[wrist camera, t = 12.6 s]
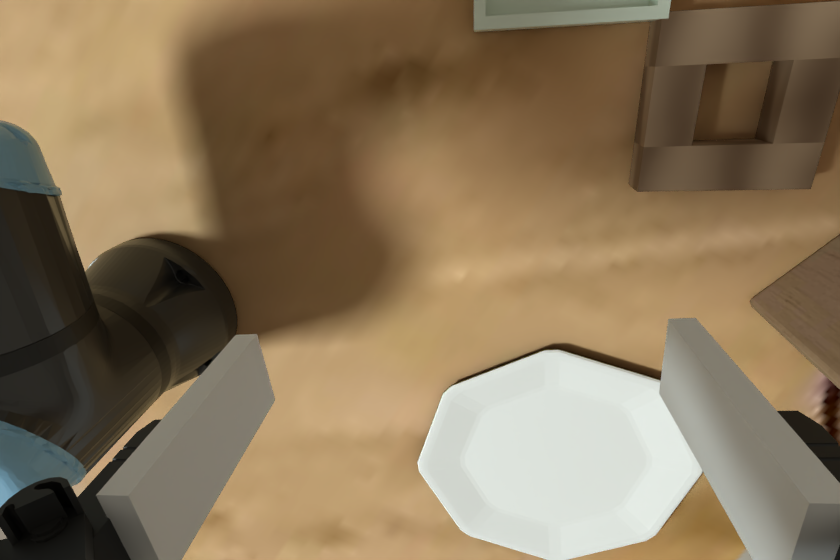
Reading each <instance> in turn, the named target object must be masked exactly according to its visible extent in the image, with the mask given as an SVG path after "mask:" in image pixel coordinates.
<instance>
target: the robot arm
mask: <svg viewBox="0 0 840 560" xmlns="http://www.w3.org/2000/svg"><path fill="white" fill-rule="evenodd" d="M60 195H62V193H61V190H60V188H59V187H57V186H56V185H55V183H54V181H53V179H52V176H51V174H50V172H49V169H48V167H47V165H46V162H45V160H44V157H43V154H42V152H41V149H40V147H39V145H38V143H37V142H36V140H35V139H34V138H33V137H32V136H31V135H30V134H29V133H28V132H27V131H25V130H24V129H22V128H21V127H19V126H17V125H15V124H12V123H9V122H5V121H0V527H1V529H2V531H3V532H4V534H5V535H6V537H7V539H3V540H0V560H182V558H183V556H184V555H185V553H186V551H187V549H188V548H189V546H190V544H191V543H192V541H193V539H194V538H195V536H196V534H197V532H198V531H199V529H200V527H201V526H202V524H203V522H204V520H205V519H206V517H207V515H208V514H209V512H210V510H211V509H212V507H213V505H214V503H215V502H216V500H217V498H218V497H219V495H220V493H221V491H222V490H223V488H224V486H225V485H226V483H227V481H228V480H229V478H230V476H231V474H232V473H233V471H234V469H235V468H236V466H237V464H238V462H239V461H240V459H241V457H242V456H243V454H244V452H245V451H246V449H247V447H248V445H249V444H250V442H251V440H252V439H253V437H254V435H255V433H256V432H257V430H258V428H259V427H260V425H261V423H262V422H263V420H264V418H265V416H266V415H267V413H268V411H269V410H270V408H271V406H272V404H273V403H274V401H275V397H274V394H273V390H272V387H271V383H270V379H269V376H268V372H267V368H266V365H265V361H264V358H263V354H262V350H261V347H260V343H259V339H258V336H257V334H244V335H236V329H237V315H236V309H235V306H234V302H233V299H232V297H231V295H230V292H229V291H228V289H227V287H226V285H225V284H224V282H223V281H222V279H221V278H220V277H219V275H218V274H217V273H216V272H215V271H214V270H213V269H212V268H211V267H210V266H209V265H208V264H207V263H206V262H205V261H204V260H203V259H201V258H200V257H199V256H197V255H196V254H194V253H193V252H191V251H189V250H188V249H186V248H184V247H182V246H180V245H177V244H175V243H172V242H169V241H165V240H160V239H153V238H140V239H133V240H129V241H126V242H124V243H121V244H119V245H117V246H115V247H113V248H111V249H109V250H107V251H106V252H104V253H102V254H101V255H100V256H98V257H97V258H96V259H95V260H94V261H93V262H92V263H91V264H90V266H89V267H88V269H87V270H86V272H85V271H84V268H83V265H82V262H81V259H80V256H79V253H78V251H77V248H76V244H75V241H74V238H73V235H72V232H71V229H70V226H69V223H68V220H67V217H66V214H65V211H64V208H63V204H62V201H61V198H60ZM199 375H200V376H199ZM197 376H199V378H198V379H197V380H196V381H195V382H194V383H193V384H192V386H191V387H190V388H189V389H188V390H187V391H186V392H185V394H184V395H183V396H182V397H181V398H180V399H179V400H178V402H177V403H176V404H175V405H174V406H173V407H172V408H171V410H170V411H169V412H168V413H167V414H166V415H165V417H164V418H163V419H162V420H154V421H152V422H151V423H149V424H148V425H147V426H145V427H144V428H142V429H141V430H139V431H138V432H137V433H136V434H135V435H134V436H133V437H132V438H131V439H130V440H129V441H128V442H127V444H126V445H125V446H124V447H123V450H120V451H119V452H118V453H117V455H116V456H115V457H114V458H113V461H112V462H109V463H108V464H107V466H106V467H105V468H104V469H103V470H102V471H101V472H100V473H99V474H98V475H97V477H96V478H95V479H94V480H93V481H92V482H91V483H90V484H89V485H88V486H87V488H86V489H85V490H84V491H83V492H82V493H81V494H80V495H79V496H78V497H77V496H76V495H75V493H74V491H73V489H72V486H73V485H76V484H78V483H79V482H81V480H82V479H83V478H84V477H85V475H86V474H87V473H88V472H89V471H90V470H91V469H92V468H93V467H94V466H95V465H96V464H97V462H98V461H99V460H100V459H101V458H102V457H103V456H104V455H105V454H106V453H107V452H108V451H109V450H110V449H111V448H112V447H113V445H114V444H115V443H116V442H117V441H118V440H119V439H120V438H121V437H122V436H123V435H124V434H125V433H126V432H127V431H128V430H129V428H130V427H131V426H132V425H133V424H134V423H135V422H136V421H137V420H138V419H139V418H140V417H141V416H142V415H143V414H144V413H145V411H146V410H147V409H148V408H149V407H150V406H151V405H152V404H153V403H154V402H155V401H156V400H157V399H158V398H159V397H160V396H161V395H162V394H163V393H164V392H165V391H168V390H170V389H172V388H174V387H176V386H178V385H180V384H182V383H184V382H187V381H189V380H191V379H193V378H195V377H197ZM659 394H660V396H661V398H662V399H663V401H664V403H665V405H666V407H667V408H668V410H669V412H670V414H671V415H672V417H673V419H674V421H675V423H676V424H677V426H678V428H679V430H680V431H681V433H682V435H683V437H684V439H685V440H686V442H687V444H688V446H689V447H690V449H691V451H692V453H693V455H694V456H695V458H696V460H697V462H698V463H699V465H700V467H701V469H702V471H703V472H704V474H705V476H706V478H707V479H708V481H709V483H710V485H711V486H712V488H713V490H714V492H715V494H716V495H717V497H718V499H719V501H720V502H721V504H722V506H723V508H724V510H725V511H726V513H727V515H728V517H729V518H730V520H731V522H732V524H733V526H734V527H735V529H736V531H737V533H738V534H739V536H740V538H741V540H742V542H743V543H744V545H745V547H746V549H747V550H748V552H749V554H750V556H751V557H752V559H753V560H840V446H839V445H838V442H837V441H836V440H835V439H834V438H833V437H832V436H831V435H830V434H829V433H828V432H827V431H826V430H825V429H824V428H823V427H822V426H821V425H820V424H818V423H816V422H815V421H813V420H812V419H810V418H808V417H807V416H805V415H804V414H802V413H800V412H799V411H776V410H775V408H774V407H773V406H772V405H771V404H770V403H769V401H768V400H767V399H766V398H765V397H764V396H763V395H762V393H761V392H760V391H759V390H758V389H757V388H756V387H755V385H754V384H753V383H752V382H751V381H750V380H749V379H748V377H747V376H746V375H745V374H744V373H743V372H742V371H741V369H740V368H739V367H738V366H737V365H736V364H735V363H734V361H733V360H732V359H731V358H730V357H729V356H728V355H727V353H726V352H725V351H724V350H723V349H722V348H721V346H720V345H719V344H718V343H717V342H716V341H715V340H714V338H713V337H712V336H711V335H710V334H709V333H708V332H707V330H706V329H705V328H704V327H703V326H702V325H701V324H700V322H699V321H698V320H697V319H696V318H679V319H668V326H667V334H666V342H665V350H664V358H663V366H662V374H661V382H660V390H659Z"/></svg>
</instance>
